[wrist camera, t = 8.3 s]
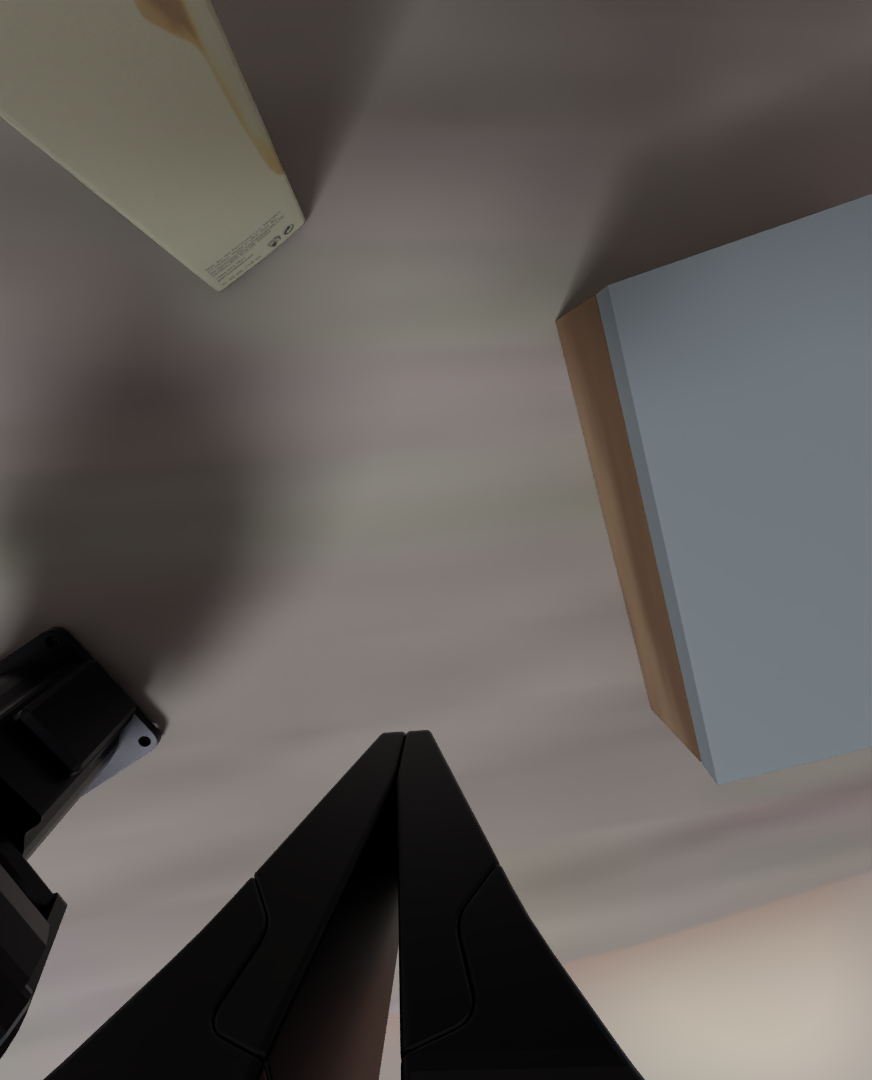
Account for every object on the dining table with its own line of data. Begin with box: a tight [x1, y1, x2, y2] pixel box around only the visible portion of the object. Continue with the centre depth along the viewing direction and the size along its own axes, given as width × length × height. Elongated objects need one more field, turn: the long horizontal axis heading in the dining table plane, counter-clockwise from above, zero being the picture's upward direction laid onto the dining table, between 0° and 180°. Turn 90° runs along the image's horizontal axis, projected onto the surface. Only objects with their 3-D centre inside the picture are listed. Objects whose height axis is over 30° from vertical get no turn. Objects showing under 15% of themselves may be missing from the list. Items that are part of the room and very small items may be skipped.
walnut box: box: [556, 295, 701, 762], centre depth 20 cm, size 12×18×4 cm, turn 18°
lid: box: [596, 194, 872, 785], centre depth 17 cm, size 13×18×1 cm
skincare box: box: [0, 0, 305, 291], centre depth 12 cm, size 6×4×12 cm
